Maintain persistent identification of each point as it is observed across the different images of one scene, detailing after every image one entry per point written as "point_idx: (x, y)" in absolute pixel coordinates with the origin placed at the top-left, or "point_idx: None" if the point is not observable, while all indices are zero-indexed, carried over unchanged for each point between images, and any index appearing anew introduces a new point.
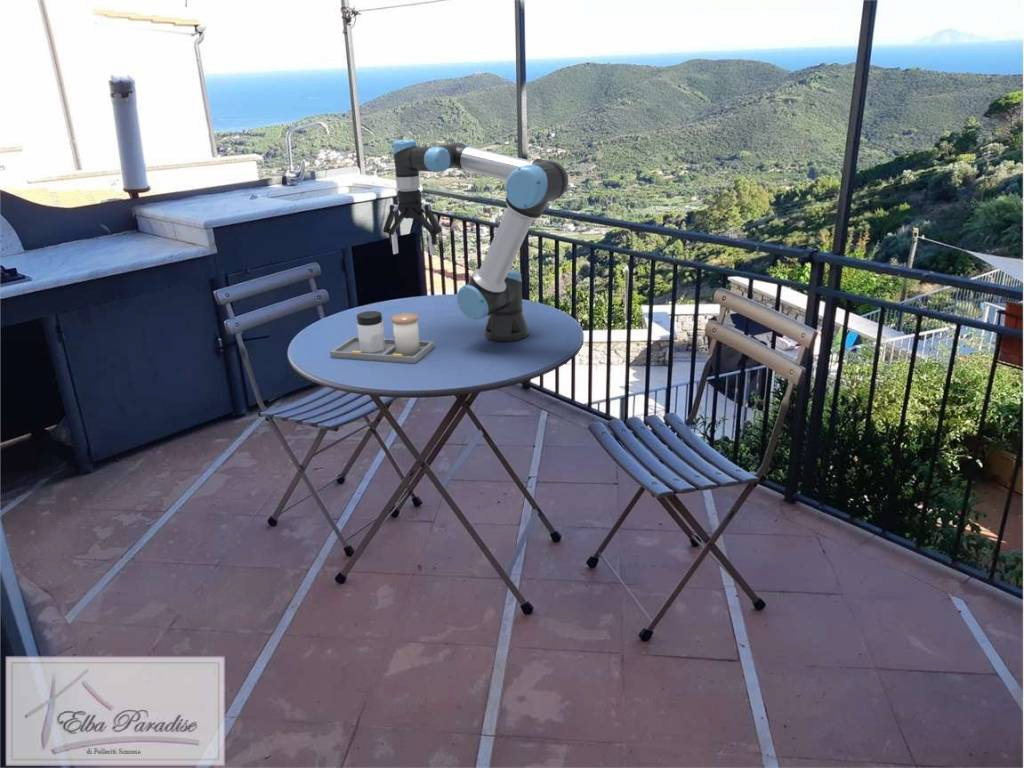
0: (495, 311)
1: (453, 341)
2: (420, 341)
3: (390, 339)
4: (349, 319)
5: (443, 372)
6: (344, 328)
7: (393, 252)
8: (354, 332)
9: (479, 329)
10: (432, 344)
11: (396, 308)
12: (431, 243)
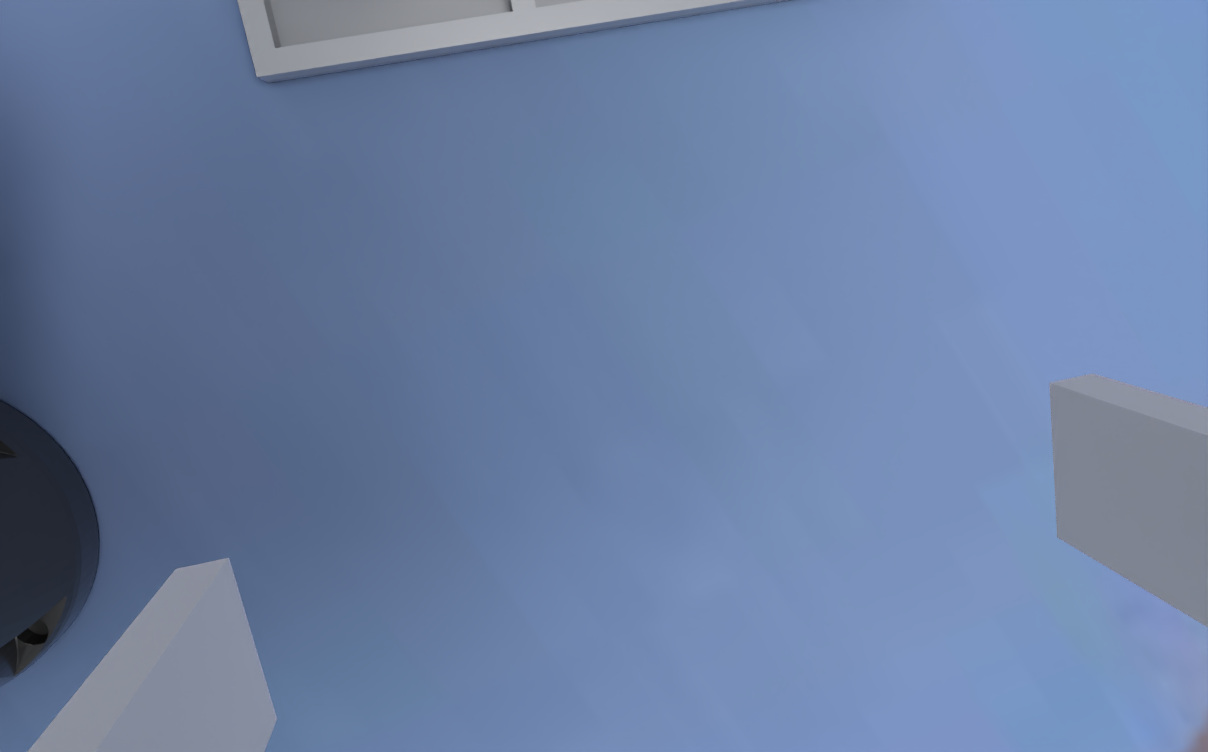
0: None
1: (219, 261)
2: (366, 44)
3: (622, 6)
4: None
5: None
6: (1135, 230)
7: (1107, 385)
8: (1025, 178)
9: None
10: (250, 42)
11: (1025, 722)
12: (44, 745)
